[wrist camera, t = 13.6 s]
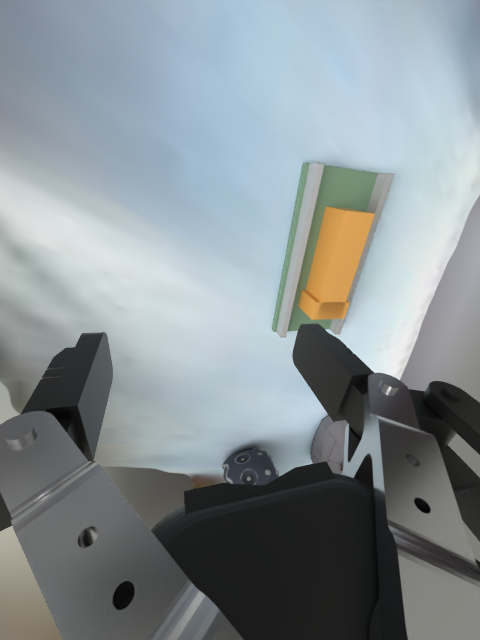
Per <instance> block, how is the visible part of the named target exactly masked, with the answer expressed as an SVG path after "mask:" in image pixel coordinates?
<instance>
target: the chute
mask: <svg viewBox="0 0 480 640" xmlns="http://www.w3.org/2000/svg"><path fill="white" fill-rule="evenodd" d="M374 215H375V214H374V213H370V212H365V211H360V210H355V209H348V208H338V207H327V206H326V207H325V211H324V215H323V220H322V224H321V228H320V232H319V236H318V240H317V244H316V249H315V253H314V257H313V261H312V265H311V269H310V273H309V278H308V282H307V286H306V290H301V294H300V299H299V303H298V306H299V307H300V308H301V309H302V310H303V311H304V312H305V313H306V314H307V315H308V316H309V317H310V318H311V319H312V320H320V319H344V318H345V315H346V312H347V309H348V306H349V303H350V302H349V301H348V300H347V297H348V294H349V291H350V288H351V285H352V282H353V279H354V276H355V273H356V270H357V267H358V264H359V261H360V258H361V255H362V252H363V249H364V246H365V243H366V240H367V237H368V234H369V231H370V228H371V225H372V222H373V219H374Z"/></svg>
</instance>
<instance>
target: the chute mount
mask: <svg viewBox="0 0 480 640" xmlns="http://www.w3.org/2000/svg"><path fill="white" fill-rule="evenodd" d="M393 176H394V174H389V173H373V172H366V171H359V170H352V169H346V168H339V167H332V166H325V165H324V164H321V163H303V165H302V171H301V176H300V181H299V187H298V192H297V197H296V202H295V208H294V213H293V218H292V224H291V229H290V234H289V240H288V245H287V250H286V256H285V261H284V266H283V272H282V277H281V282H280V288H279V293H278V298H277V304H276V309H275V314H274V319H273V325H272V330H273V331H274V332H277V333H278V335H279V336H280V337H281V338H282V337H286V334H287V331H296V330H298V329H299V326H300V325H301V324H313V323H318V324H319V325H321V326H322V327H323V328H324V329H330V330H331V331H332V332H333V333H334V334H340V332H341V329H342V326H343V323H344V321H345V318H346V315H347V312H348V309H349V306H350V303H351V300H352V297H353V294H354V291H355V288H356V285H357V282H358V279H359V276H360V274H361V271H362V268H363V265H364V262H365V259H366V256H367V253H368V250H369V247H370V244H371V241H372V238H373V235H374V232H375V229H376V226H377V224H378V221H379V218H380V215H381V212H382V209H383V206H384V203H385V200H386V197H387V194H388V191H389V188H390V185H391V182H392V179H393ZM326 206H327V207H338V208H348V209H355V210H360V211H365V212H370V213H374V214H375V215H374V219H373V222H372V225H371V228H370V231H369V234H368V237H367V240H366V243H365V246H364V249H363V252H362V255H361V258H360V261H359V264H358V267H357V270H356V273H355V276H354V279H353V282H352V285H351V288H350V291H349V294H348V297H347V300H348V301H349V302H350V303H349V306H348V309H347V312H346V315H345V318H344V319H320V320H312V319H311V318H310V317H309V316H308V315H307V314H306V313H305V312H304V311H303V310H302V309H301V308H300V307H299V306H298V303H299V299H300V294H301V290H306V286H307V282H308V278H309V273H310V269H311V265H312V261H313V257H314V253H315V249H316V244H317V240H318V236H319V232H320V228H321V224H322V220H323V215H324V211H325V207H326Z"/></svg>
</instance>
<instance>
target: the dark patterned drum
mask: <svg viewBox="0 0 480 640" xmlns="http://www.w3.org/2000/svg"><path fill="white" fill-rule="evenodd" d="M222 468H223V469H225V471H224V473H223V478H224V479H225V481H226V483H231V484H247V485H266V484H268V483H270V482H271V481H273V480H275V479H277V478H278V477H279V473H278V471H277V470H276V469H275V466H274V464H273V462H272V460H271V456H270V455H268V454H267V453H266V452H265V451H260V450H258V449H257V448H253V449H252V450H245V451H242V452H240V453H237V454H235V455H232V456H230V457H229V458H228V459H226V460H225V462H224V463H223V464H222Z"/></svg>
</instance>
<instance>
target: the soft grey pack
mask: <svg viewBox="0 0 480 640" xmlns="http://www.w3.org/2000/svg"><path fill="white" fill-rule="evenodd" d="M347 424H348V423H347V421H346V420H342V421H336V422H333V421H332V419H331V418H330V416H327V417H326V418H325V419H323V420H322V422H321V424H320V426H319V428H318V430H317V432H316V434H315V437H314V440H313V444H312V449H311V459H312V462H313V464H315V463H320V462H325V461H327V463H328V465H329V467H330V469H331V470H332V472H333V473H337V474H342V473H343V463H344V444H345V429H346V426H347Z"/></svg>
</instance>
